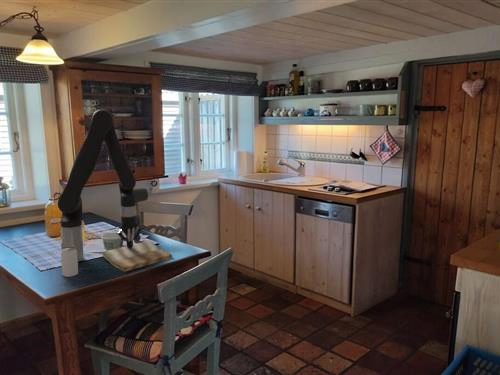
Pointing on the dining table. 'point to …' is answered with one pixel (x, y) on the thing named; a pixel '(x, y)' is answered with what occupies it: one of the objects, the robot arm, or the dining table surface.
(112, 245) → the food container
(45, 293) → the dining table surface
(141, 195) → the rubber mallet
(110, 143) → the robot arm
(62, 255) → the can
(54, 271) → the dining table surface
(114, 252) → the cream ridged flat piece
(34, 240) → the dining table surface
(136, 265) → the oak board
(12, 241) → the dining table surface
